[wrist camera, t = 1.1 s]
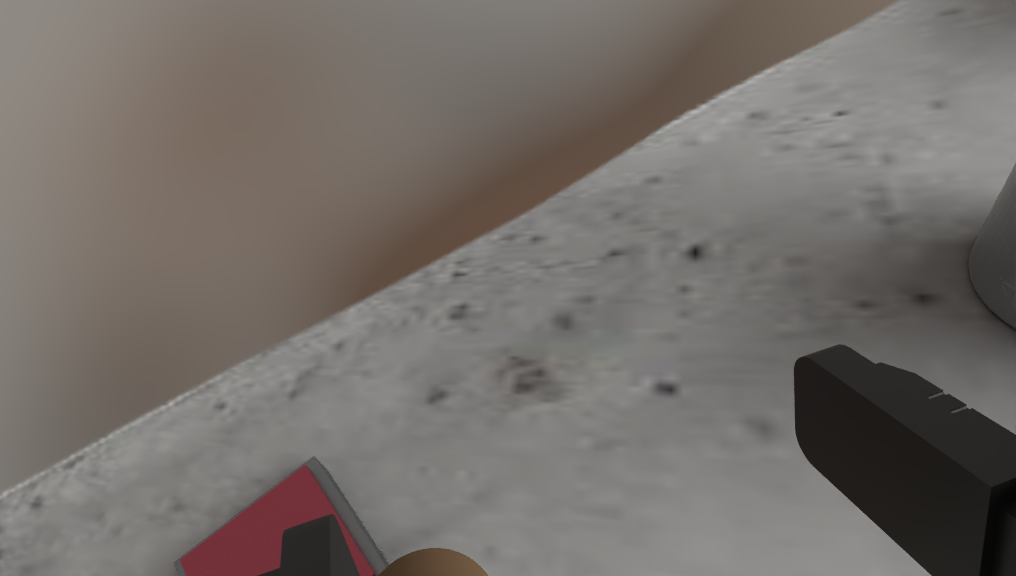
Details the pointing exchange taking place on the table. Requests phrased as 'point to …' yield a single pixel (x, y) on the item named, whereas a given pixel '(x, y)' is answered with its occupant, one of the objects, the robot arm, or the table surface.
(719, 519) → the table surface
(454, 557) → the stamp
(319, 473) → the ink pad
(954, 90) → the table surface
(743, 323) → the table surface
